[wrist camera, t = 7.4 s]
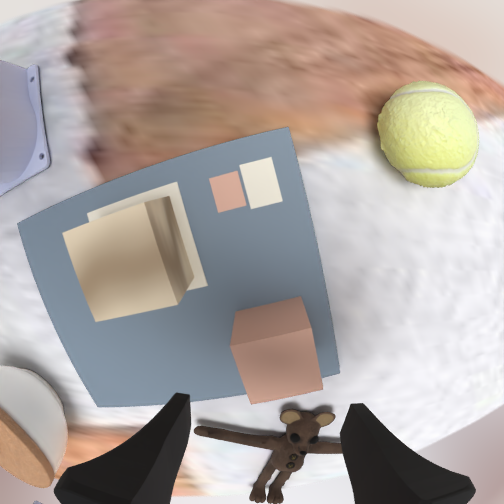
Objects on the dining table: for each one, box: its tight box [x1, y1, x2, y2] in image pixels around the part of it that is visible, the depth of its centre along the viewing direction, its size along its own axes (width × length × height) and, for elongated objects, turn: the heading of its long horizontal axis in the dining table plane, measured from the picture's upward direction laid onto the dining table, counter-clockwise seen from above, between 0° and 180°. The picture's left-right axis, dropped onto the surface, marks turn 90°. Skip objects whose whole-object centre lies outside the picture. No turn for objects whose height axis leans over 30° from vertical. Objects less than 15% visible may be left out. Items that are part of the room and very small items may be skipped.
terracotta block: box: [230, 296, 323, 404], centre depth 19 cm, size 4×4×4 cm
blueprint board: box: [17, 127, 340, 407], centre depth 21 cm, size 18×22×1 cm
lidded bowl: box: [0, 366, 68, 488], centre depth 19 cm, size 13×13×11 cm
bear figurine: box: [194, 409, 343, 504], centre depth 24 cm, size 18×4×14 cm
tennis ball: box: [377, 81, 479, 188], centre depth 15 cm, size 6×7×7 cm
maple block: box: [62, 196, 194, 322], centre depth 17 cm, size 6×6×4 cm
